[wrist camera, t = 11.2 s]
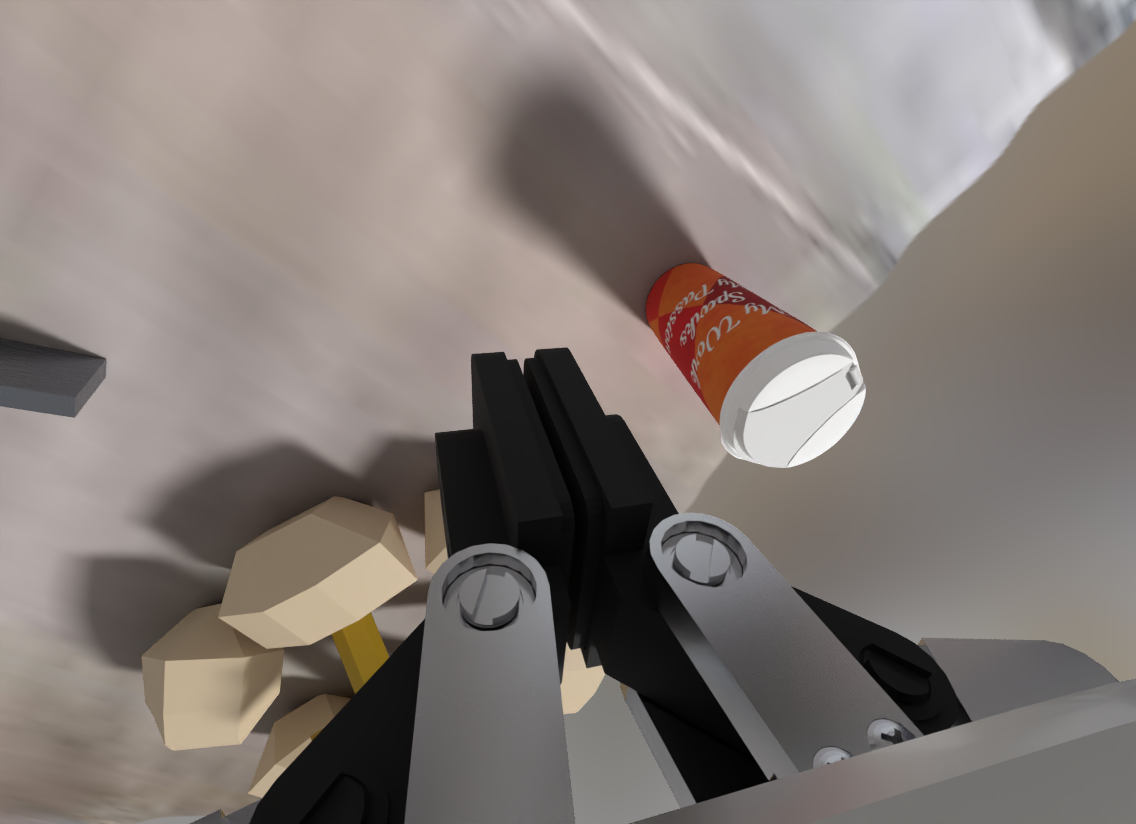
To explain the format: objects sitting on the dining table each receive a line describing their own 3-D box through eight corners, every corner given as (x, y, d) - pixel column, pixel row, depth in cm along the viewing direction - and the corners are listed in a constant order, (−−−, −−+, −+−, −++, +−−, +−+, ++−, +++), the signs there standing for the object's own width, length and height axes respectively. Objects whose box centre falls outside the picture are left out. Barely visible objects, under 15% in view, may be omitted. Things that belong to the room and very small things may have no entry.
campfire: (56, 607, 39) (-113, 915, 26) (490, 386, 39) (549, 583, 25) (356, 768, 61) (349, 983, 47) (639, 627, 60) (715, 804, 47)
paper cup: (704, 221, 36) (849, 311, 25) (751, 303, 40) (892, 411, 29) (607, 301, 37) (704, 421, 26) (663, 372, 42) (766, 500, 31)
